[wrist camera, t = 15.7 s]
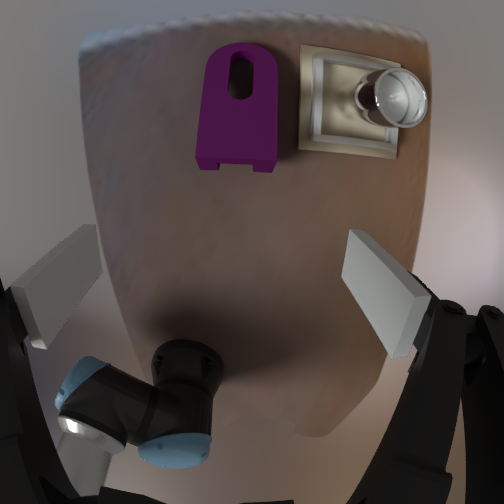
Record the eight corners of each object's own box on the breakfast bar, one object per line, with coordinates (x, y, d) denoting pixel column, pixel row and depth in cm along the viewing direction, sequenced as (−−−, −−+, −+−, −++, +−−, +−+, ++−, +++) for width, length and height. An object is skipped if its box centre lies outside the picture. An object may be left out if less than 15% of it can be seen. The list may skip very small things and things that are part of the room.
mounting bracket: (213, 73, 42) (202, 176, 41) (209, 42, 33) (194, 157, 33) (271, 76, 42) (268, 179, 42) (278, 45, 34) (277, 160, 33)
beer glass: (378, 120, 39) (435, 125, 25) (337, 129, 40) (383, 135, 26) (366, 77, 36) (420, 63, 22) (324, 84, 37) (364, 69, 23)
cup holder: (393, 158, 42) (403, 161, 39) (297, 148, 42) (301, 151, 38) (397, 64, 36) (408, 62, 32) (300, 46, 35) (305, 40, 32)
